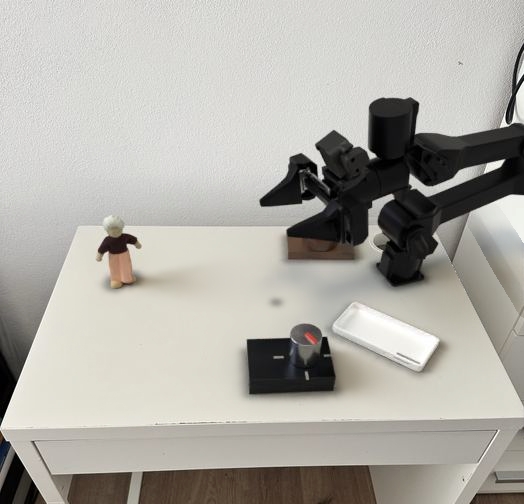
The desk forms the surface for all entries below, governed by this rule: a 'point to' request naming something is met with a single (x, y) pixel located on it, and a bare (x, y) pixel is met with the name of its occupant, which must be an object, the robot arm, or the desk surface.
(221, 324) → the desk surface
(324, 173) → the robot arm
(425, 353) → the phone case
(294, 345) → the hob knob
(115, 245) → the grandmother figurine
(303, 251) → the control block
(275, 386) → the panel
